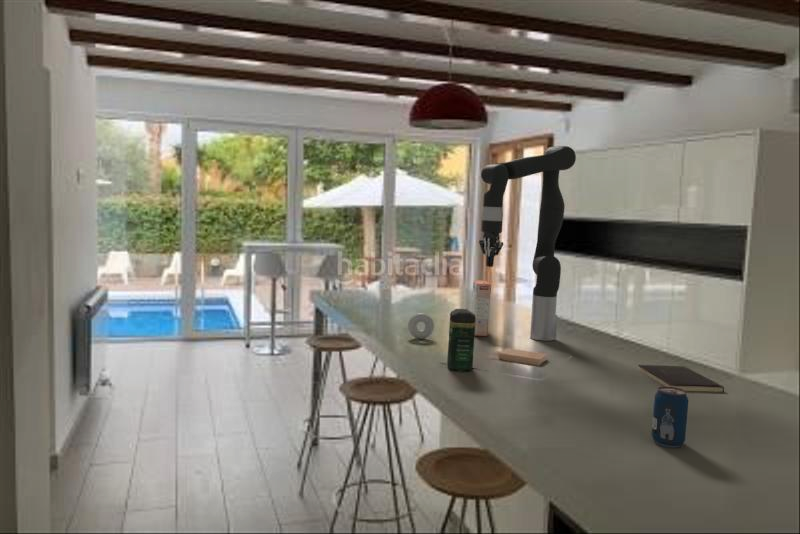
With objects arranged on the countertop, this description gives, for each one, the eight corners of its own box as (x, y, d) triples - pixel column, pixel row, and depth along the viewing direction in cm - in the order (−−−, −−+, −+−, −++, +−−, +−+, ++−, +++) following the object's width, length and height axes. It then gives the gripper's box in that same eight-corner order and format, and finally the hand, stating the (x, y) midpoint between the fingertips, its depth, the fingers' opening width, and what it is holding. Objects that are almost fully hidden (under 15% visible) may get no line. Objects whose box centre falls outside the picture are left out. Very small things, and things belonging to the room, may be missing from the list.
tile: (498, 353, 212) (539, 359, 206) (507, 348, 220) (547, 354, 214) (498, 358, 212) (539, 365, 206) (506, 353, 220) (547, 360, 214)
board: (497, 353, 224) (497, 351, 224) (547, 360, 215) (548, 359, 215) (484, 359, 213) (485, 357, 213) (537, 368, 205) (538, 366, 205)
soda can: (675, 437, 146) (680, 386, 145) (690, 449, 139) (695, 395, 138) (645, 436, 146) (650, 385, 144) (659, 448, 139) (663, 394, 138)
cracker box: (488, 337, 251) (491, 284, 249) (473, 336, 251) (476, 283, 249) (484, 330, 265) (487, 280, 263) (470, 329, 265) (472, 279, 263)
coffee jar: (474, 372, 196) (477, 312, 194) (448, 371, 196) (451, 311, 194) (470, 364, 206) (473, 307, 204) (445, 363, 206) (448, 306, 204)
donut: (432, 338, 244) (434, 312, 243) (434, 340, 241) (435, 314, 240) (406, 337, 243) (407, 311, 242) (407, 339, 240) (408, 313, 239)
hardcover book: (669, 392, 186) (670, 384, 185) (637, 371, 208) (638, 364, 208) (723, 393, 186) (724, 386, 186) (685, 373, 209) (686, 366, 209)
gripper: (511, 220, 230) (508, 268, 231) (490, 219, 241) (488, 264, 243) (493, 219, 226) (491, 268, 228) (473, 218, 238) (471, 264, 240)
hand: (489, 266), depth 235 cm, fingers closed
